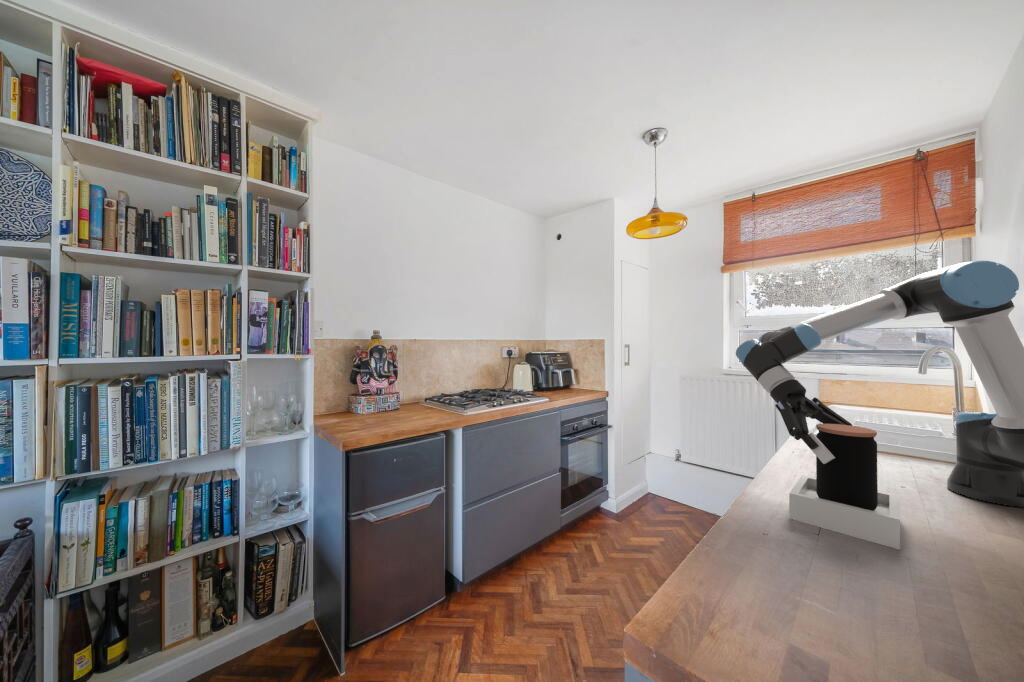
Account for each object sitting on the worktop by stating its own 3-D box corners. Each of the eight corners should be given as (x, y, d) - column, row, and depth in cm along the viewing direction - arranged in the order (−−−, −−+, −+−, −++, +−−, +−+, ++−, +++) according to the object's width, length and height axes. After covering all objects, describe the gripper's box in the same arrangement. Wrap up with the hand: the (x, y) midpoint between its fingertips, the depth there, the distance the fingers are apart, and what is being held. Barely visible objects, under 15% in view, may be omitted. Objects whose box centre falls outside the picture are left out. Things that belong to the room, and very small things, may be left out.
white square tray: (898, 522, 86) (898, 495, 86) (900, 552, 74) (900, 519, 74) (801, 499, 99) (801, 475, 99) (789, 520, 87) (789, 493, 87)
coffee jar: (891, 516, 81) (890, 434, 81) (838, 512, 82) (837, 432, 82) (852, 496, 91) (851, 424, 92) (805, 494, 92) (805, 422, 93)
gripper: (802, 393, 107) (867, 460, 92) (739, 396, 98) (799, 471, 84) (823, 376, 102) (894, 445, 87) (758, 378, 93) (826, 454, 79)
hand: (848, 458), depth 86 cm, fingers open, 13 cm apart
